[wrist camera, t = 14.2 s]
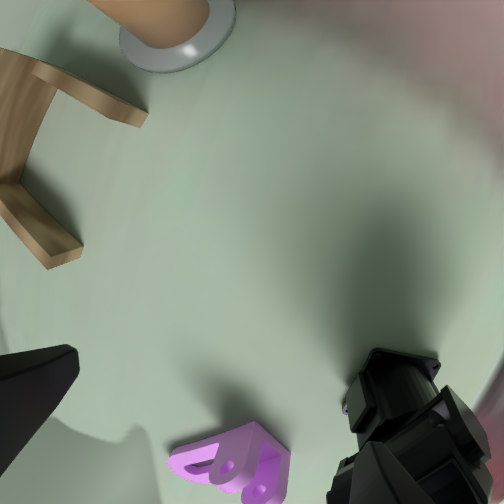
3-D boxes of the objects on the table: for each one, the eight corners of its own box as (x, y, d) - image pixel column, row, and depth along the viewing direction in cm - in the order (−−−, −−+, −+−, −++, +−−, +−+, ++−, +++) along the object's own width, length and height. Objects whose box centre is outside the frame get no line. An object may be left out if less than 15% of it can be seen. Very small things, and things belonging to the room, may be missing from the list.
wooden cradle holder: (148, 113, 18) (76, 85, 11) (79, 257, 22) (9, 285, 14) (61, 67, 19) (-1, 47, 11) (11, 187, 22) (-49, 195, 14)
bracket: (255, 419, 23) (240, 480, 16) (290, 452, 23) (284, 509, 16) (162, 450, 26) (137, 494, 19) (195, 477, 26) (177, 521, 20)
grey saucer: (249, -16, 15) (246, -25, 14) (217, 77, 17) (212, 71, 16) (148, -12, 16) (142, -19, 15) (112, 73, 18) (104, 69, 17)
